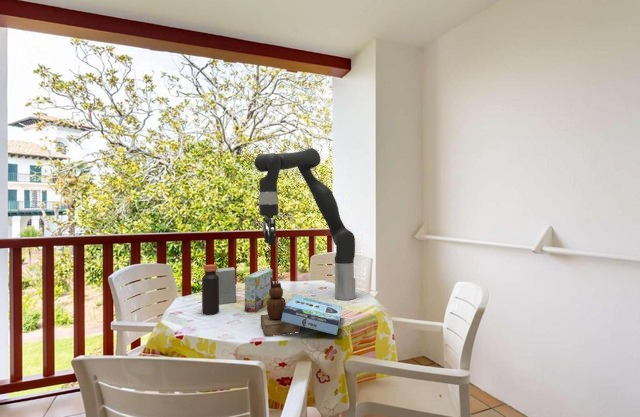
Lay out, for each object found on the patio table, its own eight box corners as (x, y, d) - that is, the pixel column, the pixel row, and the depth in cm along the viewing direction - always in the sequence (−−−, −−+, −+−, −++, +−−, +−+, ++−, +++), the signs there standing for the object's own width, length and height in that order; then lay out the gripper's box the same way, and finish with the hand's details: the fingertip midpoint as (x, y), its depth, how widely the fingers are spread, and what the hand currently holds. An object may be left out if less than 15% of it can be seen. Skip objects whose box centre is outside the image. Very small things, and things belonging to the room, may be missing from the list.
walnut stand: (292, 322, 133) (292, 311, 133) (299, 332, 121) (299, 321, 121) (260, 325, 129) (260, 314, 129) (265, 336, 118) (265, 325, 118)
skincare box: (235, 299, 168) (235, 266, 168) (236, 303, 161) (236, 269, 161) (217, 301, 165) (216, 267, 166) (217, 304, 159) (217, 270, 159)
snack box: (256, 312, 146) (256, 276, 146) (244, 312, 147) (243, 276, 147) (273, 299, 167) (273, 268, 167) (262, 299, 168) (261, 268, 168)
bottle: (212, 316, 142) (211, 267, 142) (198, 314, 144) (198, 266, 144) (222, 311, 148) (222, 264, 148) (209, 310, 150) (208, 263, 150)
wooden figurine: (265, 320, 122) (265, 278, 122) (267, 315, 128) (267, 275, 128) (285, 320, 122) (284, 278, 122) (286, 315, 128) (285, 274, 128)
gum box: (342, 306, 138) (340, 320, 115) (339, 319, 138) (336, 336, 115) (295, 294, 140) (284, 306, 117) (292, 306, 140) (280, 321, 117)
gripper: (256, 204, 145) (257, 243, 145) (262, 203, 131) (263, 246, 131) (274, 203, 147) (275, 242, 147) (281, 203, 134) (282, 245, 134)
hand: (269, 244), depth 139 cm, fingers open, 8 cm apart
